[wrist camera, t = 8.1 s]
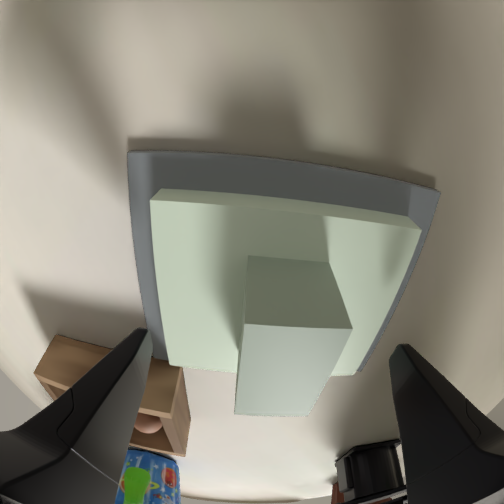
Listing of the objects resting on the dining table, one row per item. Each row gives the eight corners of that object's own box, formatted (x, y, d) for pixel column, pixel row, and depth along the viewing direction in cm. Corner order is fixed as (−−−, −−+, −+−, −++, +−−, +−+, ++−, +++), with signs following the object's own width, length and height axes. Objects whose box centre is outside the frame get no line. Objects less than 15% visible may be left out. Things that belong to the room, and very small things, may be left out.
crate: (181, 362, 15) (170, 413, 12) (190, 419, 19) (185, 456, 16) (55, 334, 15) (33, 373, 12) (90, 396, 19) (78, 428, 16)
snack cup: (184, 476, 32) (177, 531, 23) (117, 458, 30) (104, 512, 21) (201, 453, 24) (192, 534, 15) (106, 426, 22) (84, 505, 14)
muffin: (382, 477, 37) (388, 517, 28) (327, 490, 38) (331, 531, 30) (391, 464, 31) (400, 514, 22) (325, 480, 33) (330, 531, 24)
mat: (435, 189, 10) (440, 192, 9) (359, 366, 15) (361, 371, 15) (131, 150, 9) (127, 152, 9) (155, 352, 15) (154, 358, 14)
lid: (407, 216, 10) (469, 281, 6) (349, 358, 14) (366, 426, 10) (161, 188, 10) (105, 250, 6) (174, 347, 14) (156, 419, 10)
